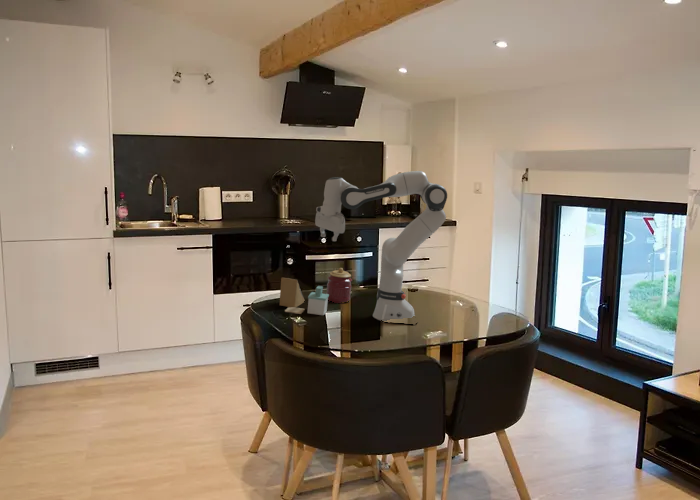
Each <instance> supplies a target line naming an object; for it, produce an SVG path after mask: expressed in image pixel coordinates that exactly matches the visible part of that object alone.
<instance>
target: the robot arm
mask: <svg viewBox="0 0 700 500" xmlns="http://www.w3.org/2000/svg"><path fill="white" fill-rule="evenodd" d="M324 185H325V186H324V190H323V198H324V199H323V202H322V205H321V206H317V207H316V210H315V211H316V214H315V218H314V219H315V220H314V223H315V226H316V227H318V228H319V231H320V237H321V238H325V237H326V231H325V230H328V231H331V232H333V236H332V237H331V241H332V242H337V239H338V238H339V237H338V236H339V235H340V234H344V233H345V231H346V219H345V216H344V214H343V213H342V212H341V211H342V206H343V207H344V208H345V209H348V210H356V209H357V208H359V207H361V206H363V204H366V203H367V202H371V201H375V200H380V199H385V198H401V197H402V198H403V197H406V196H410V195H419V196H420V198H421V201H422V202H423V203H424V204H425V206H426V207H425V209H424V210H423V211H422V213H420V214H419V215H417V216H416V217H415V219H413V220H412V221H410V222H409V224H407V225H406V226H405V227H404V229H403V230H402V231H401V233H400V234H399V235H397V237H390V238H387V239H386V240H385V241H384V242H383V243H382V246H381V255H380V256H381V257H380V259H381V261H380V275H379V277H380V278H379V286H378V289H377V294H376V304H375V308H374V311H373V313H372V317H373V318H374V319H376V320H377V321H381V320H382V321H387V320H390V319H403V318H412V317H413V316H415V309H414V307H413V306H412V304H410V302H409V301H407V300H406V296H407V295H406V293H405V291H403V281H404V264H405V263H406V262H407V260H408V259H409V258H410V257H411V256H412V255H413V253H414V252H415V251H416V250H417V249H418V247H420V246H421V245H422V244H423V243H425V241H426V240H428V238H429V237H431V236H432V235H433V234H435V233H436V232H437V230H439V229H440V228H441V227H442V225H443V224H444V223H445V221H446V220H447V214H446V212H445V211H444V208H445V205H446V203H447V199H448V192H447V190H446V188H445V187H444V186H443V185H441V184H438V183H432V182H430V181H429V179H428V176H427V174H426V172H424V171H422V170H412V171H411V170H410V171H406V172H401V173H400V172H399V173H397V174H394V175H392V176H389V177H388V178H387V179H386V180H385V181H383V182H382V183H380V184H377V185H374V186H368V187H366V188H358V186H356V185H353V184H351V183H349V182H347V181H346V180H345V179H344V178H343V177H341V176H332V177H329V178H328V179H327V180H326V181H325V183H324ZM382 321H381V322H382Z"/></svg>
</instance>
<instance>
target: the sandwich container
mask: <svg viewBox="0 0 700 500" xmlns="http://www.w3.org/2000/svg"><path fill="white" fill-rule="evenodd" d="M280 280H281V281H280V290H279V291H280V293H279V294H280V295H279V306H283V307H287V308H288V307H296V308H298V307H299V306H300V305H302V304H303V303H305V302H306V301H305V298H304V295H303V292H302V290H301V288H300V284H299V281H298V279H294V278H289V277H281V278H280ZM304 301H305V302H304Z"/></svg>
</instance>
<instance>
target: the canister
mask: <svg viewBox="0 0 700 500" xmlns="http://www.w3.org/2000/svg"><path fill="white" fill-rule="evenodd" d="M351 277H352V274H351V273H349V272H348V271H345V270H344V269H343V267H339V268H338V270H332V271H330V272H329V276H327V283H326V293H325V294H329V297H328V300H329V301H328V302H330V301H332V302H331V303H333V302H334V304H342V303H341V302H347V301H349V300H351V291H352V282H353V279H352V278H351ZM349 302H350V301H349Z"/></svg>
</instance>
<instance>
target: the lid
mask: <svg viewBox="0 0 700 500" xmlns="http://www.w3.org/2000/svg"><path fill="white" fill-rule="evenodd" d="M323 289H324V286H322V285H318V286H316V288H315V291H311V292H310V293H309V295H308V296H307V299H308V300H309V299H316V300H324V301H326V299H327V298H328V297H329V294H326V293H323Z"/></svg>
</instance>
